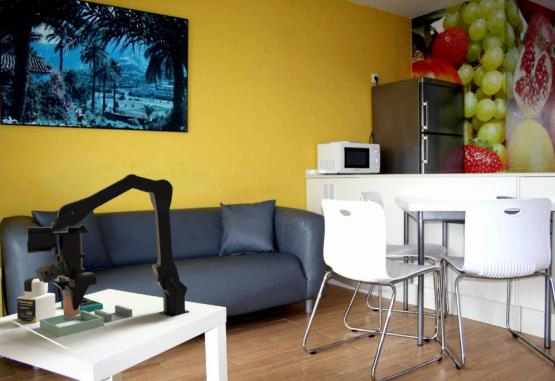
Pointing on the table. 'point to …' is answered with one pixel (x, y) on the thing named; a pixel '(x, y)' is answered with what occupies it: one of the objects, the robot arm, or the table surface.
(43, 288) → the medicine bottle
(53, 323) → the tray
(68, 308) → the fuse
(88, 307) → the digital multimeter
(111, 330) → the table surface
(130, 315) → the grey cradle stand
